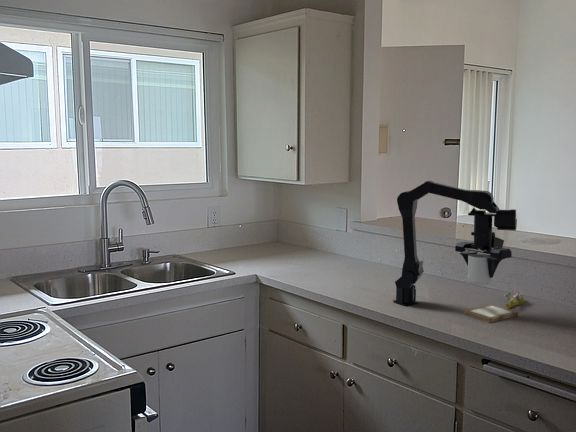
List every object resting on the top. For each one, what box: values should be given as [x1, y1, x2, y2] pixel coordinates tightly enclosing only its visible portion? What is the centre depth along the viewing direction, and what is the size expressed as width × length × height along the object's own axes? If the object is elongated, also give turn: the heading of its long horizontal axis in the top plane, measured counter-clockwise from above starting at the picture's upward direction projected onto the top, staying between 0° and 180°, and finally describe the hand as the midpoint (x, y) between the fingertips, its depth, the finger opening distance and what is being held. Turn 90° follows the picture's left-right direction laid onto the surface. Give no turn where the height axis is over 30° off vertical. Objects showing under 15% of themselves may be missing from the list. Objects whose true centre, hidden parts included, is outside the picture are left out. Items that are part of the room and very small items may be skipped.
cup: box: [467, 253, 492, 286], centre depth 191 cm, size 7×10×9 cm
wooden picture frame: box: [463, 304, 519, 323], centre depth 189 cm, size 14×10×1 cm
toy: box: [504, 290, 526, 310], centre depth 202 cm, size 5×5×15 cm
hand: (481, 275), depth 190 cm, fingers closed on cup, 7 cm apart
